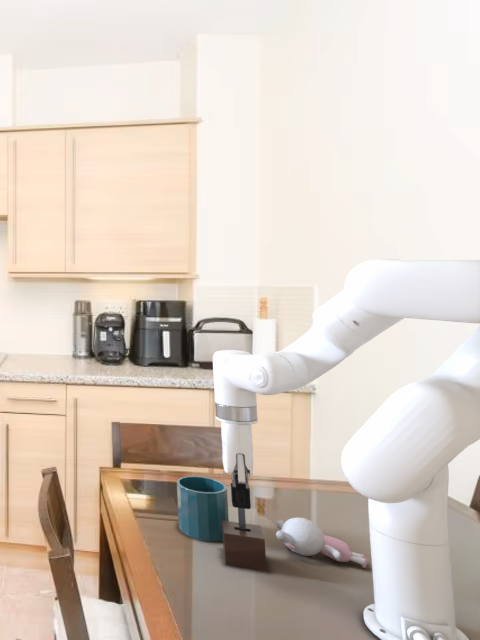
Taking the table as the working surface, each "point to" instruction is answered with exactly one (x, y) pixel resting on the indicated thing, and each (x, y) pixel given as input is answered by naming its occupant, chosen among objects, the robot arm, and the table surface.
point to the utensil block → (244, 546)
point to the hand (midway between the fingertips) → (241, 505)
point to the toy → (314, 541)
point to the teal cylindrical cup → (202, 507)
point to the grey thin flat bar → (241, 519)
